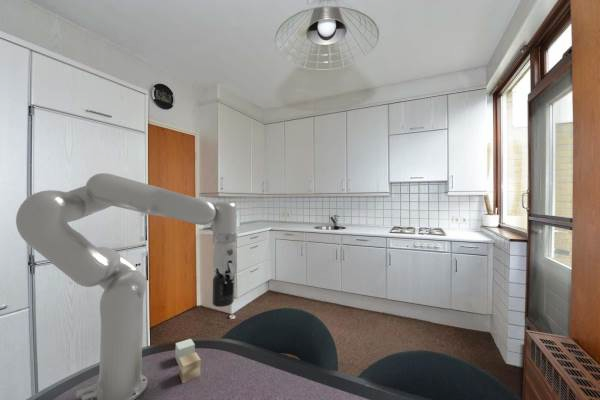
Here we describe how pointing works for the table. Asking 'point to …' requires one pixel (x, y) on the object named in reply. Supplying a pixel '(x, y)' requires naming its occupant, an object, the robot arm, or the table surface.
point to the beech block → (189, 367)
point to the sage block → (184, 349)
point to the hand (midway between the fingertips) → (223, 291)
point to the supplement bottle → (220, 291)
